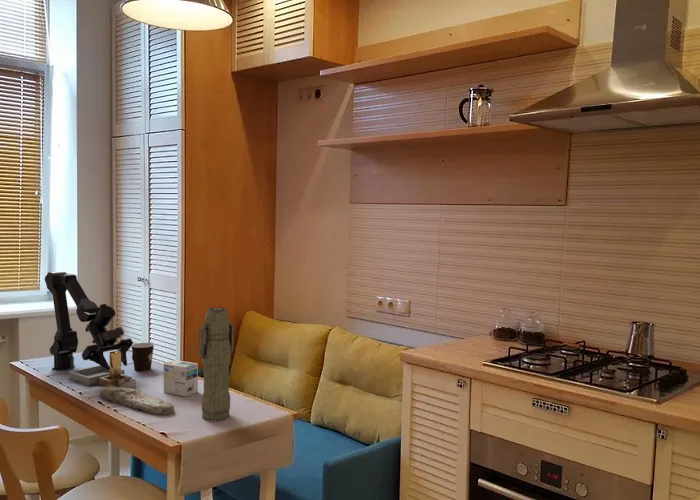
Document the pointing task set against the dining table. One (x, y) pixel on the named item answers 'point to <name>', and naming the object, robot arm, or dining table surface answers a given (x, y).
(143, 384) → the dining table surface
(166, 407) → the elongated rock
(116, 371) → the pin
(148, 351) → the coffee mug
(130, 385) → the brown frame
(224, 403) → the headless robed statue
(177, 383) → the light bulb box
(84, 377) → the tray
